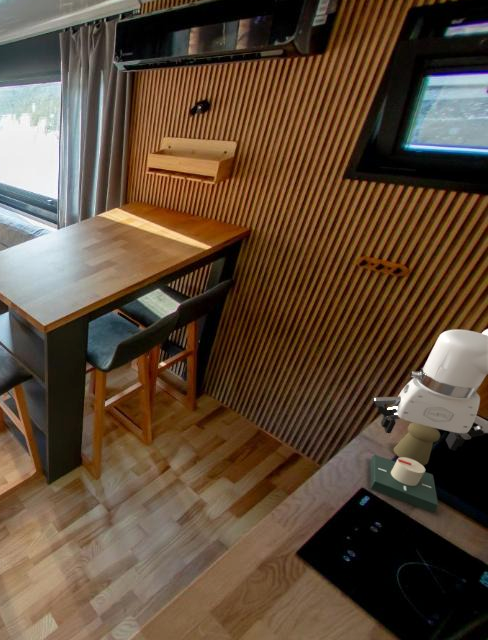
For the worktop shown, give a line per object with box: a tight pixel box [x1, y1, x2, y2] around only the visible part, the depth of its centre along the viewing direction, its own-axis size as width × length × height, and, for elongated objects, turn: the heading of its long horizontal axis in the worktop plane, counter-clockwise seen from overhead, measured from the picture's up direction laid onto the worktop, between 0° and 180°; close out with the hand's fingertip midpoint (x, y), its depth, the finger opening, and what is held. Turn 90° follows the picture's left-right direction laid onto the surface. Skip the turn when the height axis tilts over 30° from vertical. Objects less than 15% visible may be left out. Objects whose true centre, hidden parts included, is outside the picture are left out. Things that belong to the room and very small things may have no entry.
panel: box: [369, 454, 439, 513], centre depth 92 cm, size 10×10×3 cm
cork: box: [393, 422, 441, 466], centre depth 96 cm, size 6×6×11 cm
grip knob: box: [391, 457, 426, 486], centre depth 90 cm, size 4×4×5 cm
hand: (417, 437), depth 85 cm, fingers open, 9 cm apart
